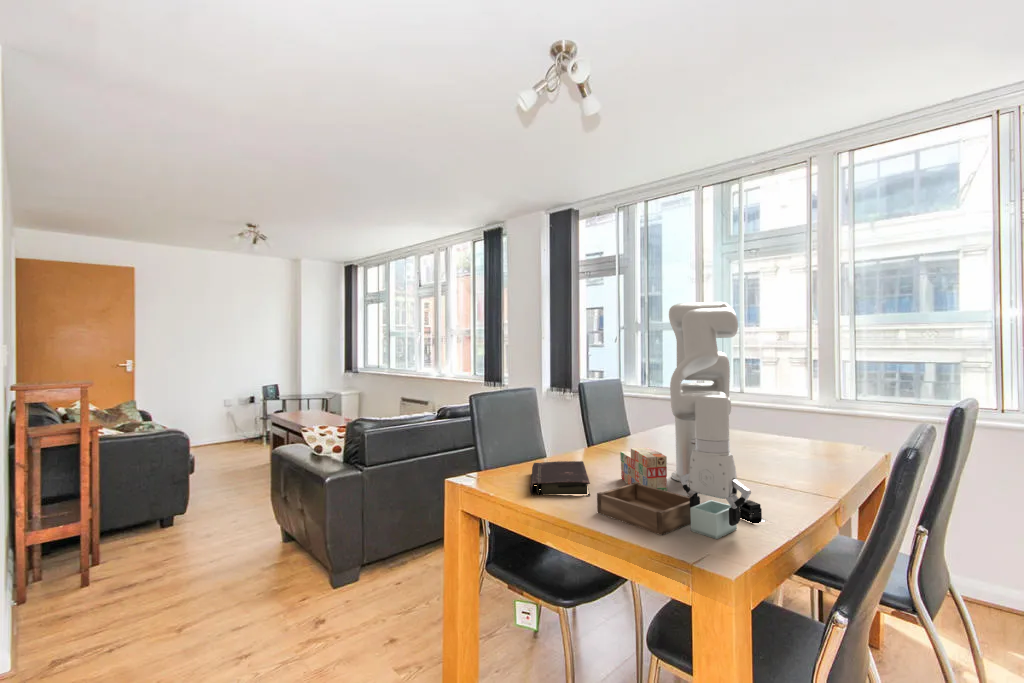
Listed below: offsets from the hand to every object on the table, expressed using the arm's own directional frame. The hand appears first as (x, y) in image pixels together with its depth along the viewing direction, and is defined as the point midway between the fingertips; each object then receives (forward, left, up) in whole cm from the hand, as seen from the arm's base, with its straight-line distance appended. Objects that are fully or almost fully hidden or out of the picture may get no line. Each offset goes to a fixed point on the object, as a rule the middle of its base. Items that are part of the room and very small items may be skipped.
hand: (714, 518), depth 113 cm
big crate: (+4, -16, -3) cm, 17 cm away
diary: (+1, -52, -4) cm, 52 cm away
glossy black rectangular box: (-15, +1, -4) cm, 15 cm away
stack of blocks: (-16, -33, -3) cm, 37 cm away
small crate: (0, 0, -3) cm, 3 cm away
